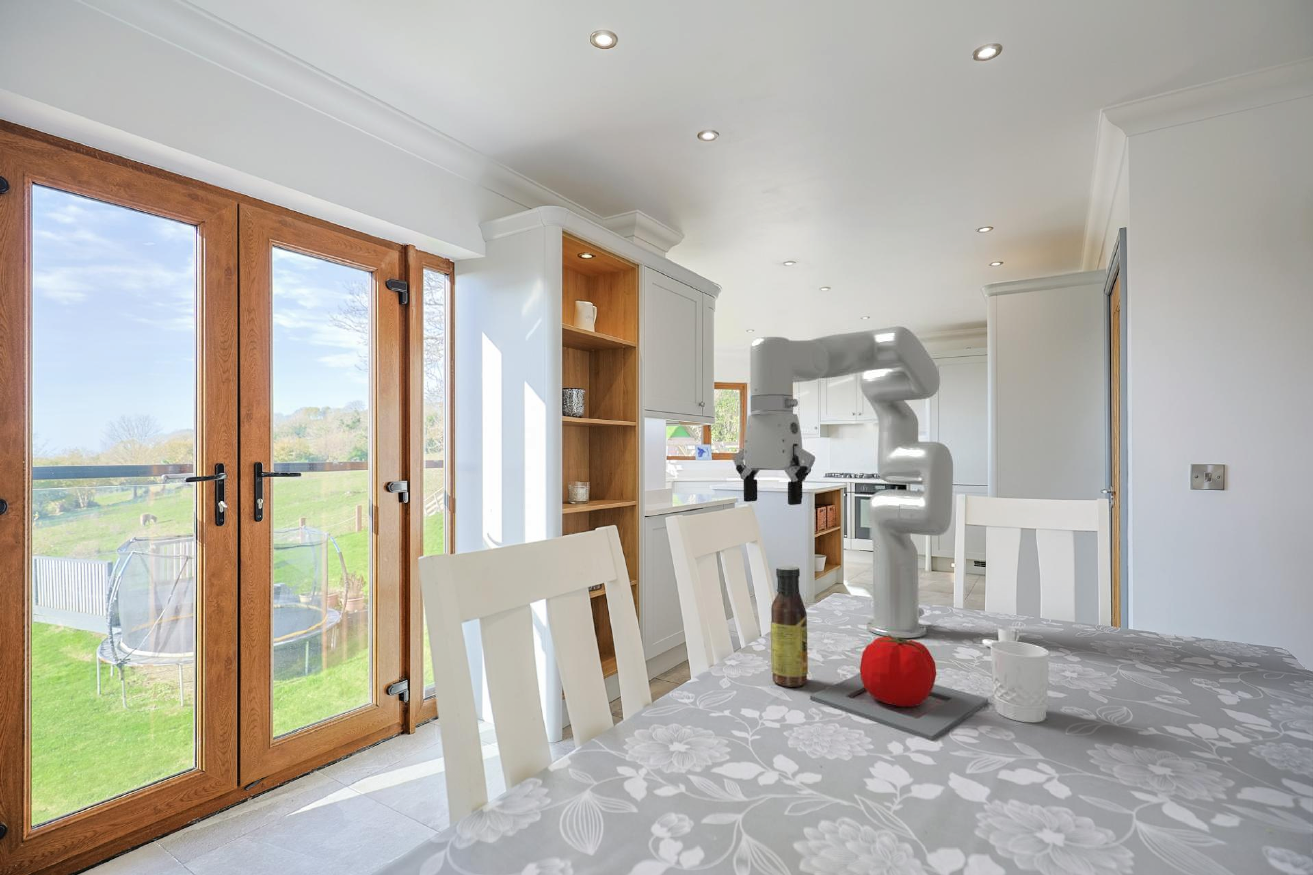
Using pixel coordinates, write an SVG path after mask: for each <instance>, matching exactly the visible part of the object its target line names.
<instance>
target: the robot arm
mask: <svg viewBox="0 0 1313 875" xmlns="http://www.w3.org/2000/svg"><path fill="white" fill-rule="evenodd" d="M749 348H750V350H749V356H750V357H749V361H750V362H749V363H750V364H749V367H750V368H749V369H750V371H749V372H750V373H749V376H750V377H749V378H750V379H749V380H750V383H749V384H750V388H749V389H750V414H749V415H748V416H747V420H746V426H745V433H744V445H743V446H744V447H743V449H740V450H739V451H738V452H737V453H735V454H733V455H732V461H733V464H734V466H735V469H736V471H737V473H738V475H740V479H741V480H743V502H746V503H748V502H749V503H750V502H756V501H758V479H756V478H755V477H756V476H757V474H759V472H760V471H784V472H785V474H786V475H787V476H788V478H789V479H790V481H788V482H787V504H788V505H790V506H795V505H796V506H797V505H802V500H803V482H805V481H806V478H807V476H808V475H809V474H810V473H811V471H812V467H813V465H814V463H815V461H816V455H814V454H812V453H811V452H809V451H807V450H805V449H804V448H803V441H802V431H801V425H800V421H799V417H798V416H799V415H798V414H797V413H794V408H795V407H798V405H799V401H798V399H796V398H794V383H804V382H811V381H815V380H816V381H817V380H818V379H828V378H829V379H830V378H839V377H844V376H849V375H853V374H859V373H861V374H860V376H859V386H860V389H861V392H862V393H863V395H864V397H865V398H866V400H867V401H868V402H869V404H870V405H871V407H872V409H873V410H874V413H875V414H876V417H877V418H876V419H877V422H878V440H877V441H878V445H877V464H876V465H877V474H878V477H879V478H880V479H881V480H883V481H884V482H887V483H890V484H899V485H917V486H918V485H922V486H923V489H924V490H922V491H921V490H911V489H883V490H879V491H877V492H875V493H874V494H872V496H871V497H870V499H869V500H868V505H867V514H868V519H869V524H870V529H871V534H872V535H871V537H872V538H871V539H872V569H873V570H872V578H873V579H872V582H873V583H872V584H873V585H872V587H873V592H872V594H873V619H870V620H868V621H866V629H867V630H868V631H869V632H871V633H874V634H877V635H879V636H882V637H890V636H892V637H897V638H898V637H901V638H902V639H913V638H920V637H923V636H925V635H927V627H926V626H925V625H923V624H921V623H920V620H919V619H920V617H923V616H925V610H924V609H923V608H922V607H919V603H920V602H919V553H918V549H917V547H916V545H915V543H914V541H913V540H912V538H911V537H910V534H912V535H919V536H920V535H921V536H932V537H936V536H942V535H944V534H945V533H947V532H948V530H949V528H950V526H951V522H952V516H953V515H952V513H953V493H954V491H953V489H954V487H953V486H954V462H953V457H952V453H951V452H950V449H949V448H948V447H947V446H946V445H945V444H943V443H942V442H938V441H919V420H918V416H917V415H916V413H915V411H914V409H912V408H911V406H910V405H909V404H908V403H907V402H906V401H915V400H916V401H917V400H918V401H919V400H926V399H930V398H932V397H933V396H935V395H936V393H937V392H938V391H939V388H940V384H941V376H940V372H939V369H938V367H937V365H936V364H935V362H934V360H933V359H932V357H931V356H930V354H929V352H928V351H927V349H926V348H925V347H924V345H923V344H922V342H921V341H920V340H919V338H918V337H917V336H916V334H914V332H912V331H911V330H910V329H908V327H907V328H906V327H905V326H900V325H899V326H892V327H884V328H878V329H870V330H864V331H857V332H848V333H839V334H832V335H826V336H821V337H816V338H812V339H809V340H806V339H805V340H804V339H803V340H792V339H791V340H790V339H789V338H786V337H782V336H764V337H759V338H756V339H754V340H753V341H751V343H750V347H749ZM887 634H888V635H890V636H888V635H887Z"/></svg>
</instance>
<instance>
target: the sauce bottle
mask: <svg viewBox="0 0 1313 875" xmlns="http://www.w3.org/2000/svg"><path fill="white" fill-rule="evenodd" d="M800 574H801V573H800V568H799V567H796V566H792V565H791V566H790V565H789V566H788V565H785V566H784V565H783V566H777V567H776V569H775V575H776V578H777V588H776V592H777V595H776V597H775V598H774V600H773V601H772V604H771V606H770V611H771V613H770V615H771V616H770V617H771V618H770V619H771V621H770V652H771V656H770V658H771V672H772V681H773V682H774V683H775V684H777V685H779V686H783V687H789V688H793V687H795V688H796V687H798V688H799V687H802V686H804V685H806V683H807V682H808V676H807V675H808V674H809V670H808V667H809V666H808V665H809V664H808V663H809V661H808V660H809V658H808V615H807V614H808V612H807V611H806V607H805V605H804V602H803V598H802V596H801V593H800V581H799V580H800Z"/></svg>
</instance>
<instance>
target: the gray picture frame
mask: <svg viewBox="0 0 1313 875" xmlns="http://www.w3.org/2000/svg"><path fill="white" fill-rule="evenodd" d="M865 691H867V690H866V689H865V687H864V685H863V682H862V680H861V674H860V673H858V674H856V675H853V676H851V677H849V678H846V679H844V680H842V681H840V682H837V683H835V684H833V685H830V686H828V687H826V688H823V689H822V690H819V691H818V692H814V693H813V694H810V695H809V700H811V701H814V702H817V703H819V704H823V705H826V706H829V707H832V708H835V709H838V710H841V711H843V712H847V713H849V714H853V715H855V716H859V717H861V718H864V719H868V720H870V721H873V722H876V723H879V724H882V725H885V726H888V727H891V728H894V729H897V730H900V731H903V732H905V733H909V734H911V735H915V736H918V737H920V738H924V739H926V740H930V741H934V740H935V739H936V738H938V737H939V736H941V735H942V734H944V733H946V732H947V731H948V730H950V729H951V728H953V727H954V726H955V725H957V724H958V723H961V722H962V721H963V720H964V719H966V718H967V717H969V716H970V715H972V714H974V713H975V712H976V711H978V710H979V709H981V708H982V707H983V706H985V705H987V704H988V703H989V698H987V697H982V696H981V695H980V696H979V695H975V694H972V693H968V692H965V691H961V690H958V689H953V688H950V687H946V686H942V685H938V684H935V683H934V686H933V689H932V690H931V692H930V694H929V695H928V696H930V697H933V698H938V699H941V700H944V701H945V702H944V703H941V704H940V705H939V706H937V707H936V708H933V709H932V710H930V711H928V712H927V713H925V714H923V715H922V716H920V717H919V718H916V717H915V718H914V717H912V716H909V715H905V714H903V713H899V712H896V711H894V710H893V711H892V710H889V709H886V708H884V707H880V706H878V705H875V704H872V703H868V702H865V701H861V700H858V699H855V698H853V697H855V696H856V695H858V694H861V693H863V692H865Z"/></svg>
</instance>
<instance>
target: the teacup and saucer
mask: <svg viewBox="0 0 1313 875" xmlns="http://www.w3.org/2000/svg"><path fill="white" fill-rule="evenodd" d="M1016 633H1017V635H1016ZM997 634H998V635H997V636H998V639H997V640H993V639H987V638H985V639H982V641H981V642H982V645H984V646H985V647H987V648H990V645H991V643H993V642H998V641H1015V642H1019V641H1018V640H1019V639H1020V632H1019V630H1017V629H1015V628H1013V627H1009V626H998V627H997ZM1015 636H1016V637H1015ZM990 649H991V648H990Z"/></svg>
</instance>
